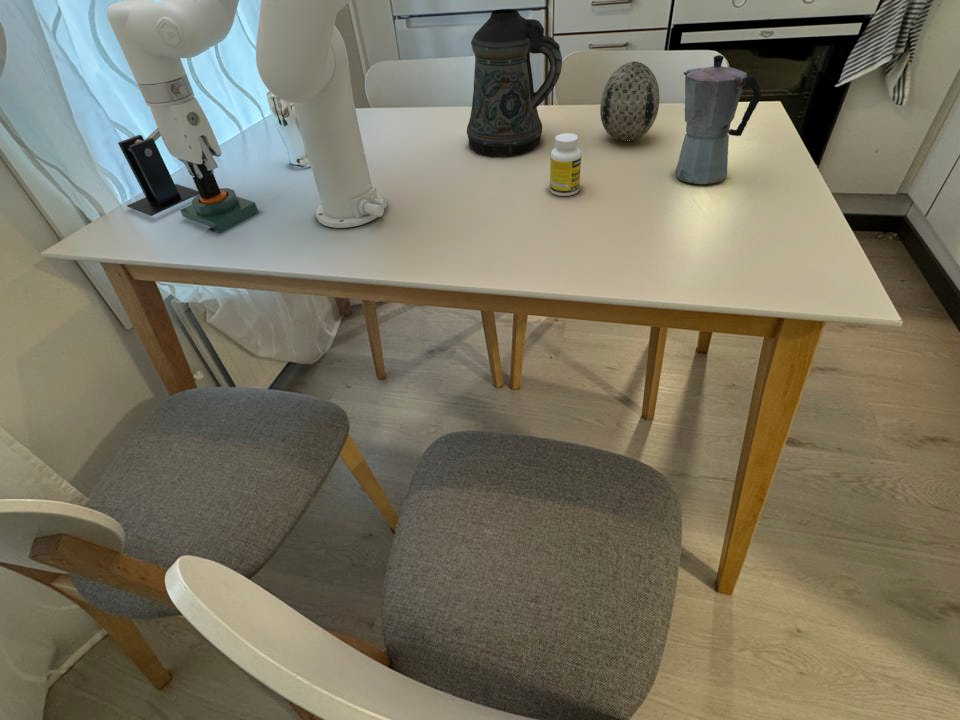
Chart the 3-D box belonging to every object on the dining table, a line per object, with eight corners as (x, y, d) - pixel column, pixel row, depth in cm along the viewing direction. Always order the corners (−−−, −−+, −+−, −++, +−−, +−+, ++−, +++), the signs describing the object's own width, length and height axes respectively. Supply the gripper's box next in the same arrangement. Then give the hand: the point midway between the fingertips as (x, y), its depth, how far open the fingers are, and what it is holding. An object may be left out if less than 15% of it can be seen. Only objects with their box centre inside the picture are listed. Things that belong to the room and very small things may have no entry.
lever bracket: (178, 189, 116) (149, 127, 108) (203, 197, 112) (174, 133, 104) (129, 210, 110) (94, 147, 101) (153, 220, 106) (119, 155, 97)
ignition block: (259, 212, 105) (251, 193, 102) (219, 234, 100) (210, 213, 97) (224, 201, 110) (216, 182, 107) (184, 220, 105) (175, 201, 102)
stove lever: (175, 116, 109) (166, 105, 107) (191, 120, 107) (182, 109, 105) (132, 157, 106) (122, 147, 104) (147, 162, 103) (137, 152, 101)
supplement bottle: (574, 198, 99) (576, 144, 92) (545, 195, 101) (546, 141, 94) (583, 186, 103) (586, 132, 96) (555, 182, 104) (556, 130, 98)
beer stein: (462, 135, 127) (449, 9, 110) (543, 123, 128) (543, -3, 112) (475, 163, 114) (464, 25, 98) (565, 149, 116) (569, 11, 99)
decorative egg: (587, 138, 120) (591, 62, 109) (629, 125, 123) (637, 51, 113) (621, 155, 112) (629, 75, 102) (666, 141, 115) (678, 62, 105)
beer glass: (311, 170, 118) (290, 96, 108) (282, 169, 120) (258, 97, 110) (324, 157, 123) (305, 85, 113) (296, 157, 125) (275, 86, 115)
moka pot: (684, 157, 108) (704, 43, 95) (755, 181, 99) (789, 57, 85) (652, 172, 105) (668, 55, 91) (722, 198, 95) (752, 71, 82)
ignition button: (235, 201, 103) (231, 193, 102) (213, 212, 101) (209, 203, 99) (219, 196, 106) (216, 188, 104) (198, 207, 103) (194, 198, 102)
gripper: (213, 88, 88) (252, 196, 101) (162, 79, 95) (205, 180, 108) (171, 103, 84) (218, 213, 96) (121, 91, 91) (170, 195, 103)
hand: (211, 195), depth 102 cm, fingers closed
